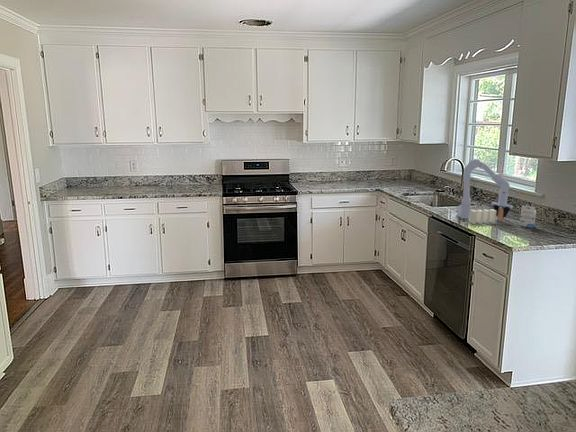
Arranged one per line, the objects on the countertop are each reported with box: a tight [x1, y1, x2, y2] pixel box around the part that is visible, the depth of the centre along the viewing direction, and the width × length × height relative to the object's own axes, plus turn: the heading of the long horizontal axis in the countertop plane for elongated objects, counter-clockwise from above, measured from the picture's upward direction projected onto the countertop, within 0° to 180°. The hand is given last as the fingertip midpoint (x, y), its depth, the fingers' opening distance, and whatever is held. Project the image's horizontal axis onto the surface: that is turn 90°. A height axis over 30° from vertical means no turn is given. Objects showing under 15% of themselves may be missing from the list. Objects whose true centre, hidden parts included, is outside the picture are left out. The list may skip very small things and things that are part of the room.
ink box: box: [518, 205, 537, 229], centre depth 290 cm, size 8×5×15 cm, turn 47°
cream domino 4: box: [489, 208, 497, 223], centre depth 299 cm, size 5×2×9 cm, turn 10°
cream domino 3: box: [482, 208, 490, 225], centre depth 298 cm, size 5×2×9 cm, turn 10°
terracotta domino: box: [496, 206, 505, 221], centre depth 305 cm, size 5×2×9 cm, turn 10°
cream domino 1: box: [469, 209, 477, 225], centre depth 296 cm, size 5×2×9 cm, turn 10°
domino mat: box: [464, 218, 510, 226], centre depth 301 cm, size 12×29×1 cm, turn 99°
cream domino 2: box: [476, 209, 484, 225], centre depth 297 cm, size 5×2×9 cm, turn 10°
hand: (500, 216), depth 306 cm, fingers closed on terracotta domino, 5 cm apart
